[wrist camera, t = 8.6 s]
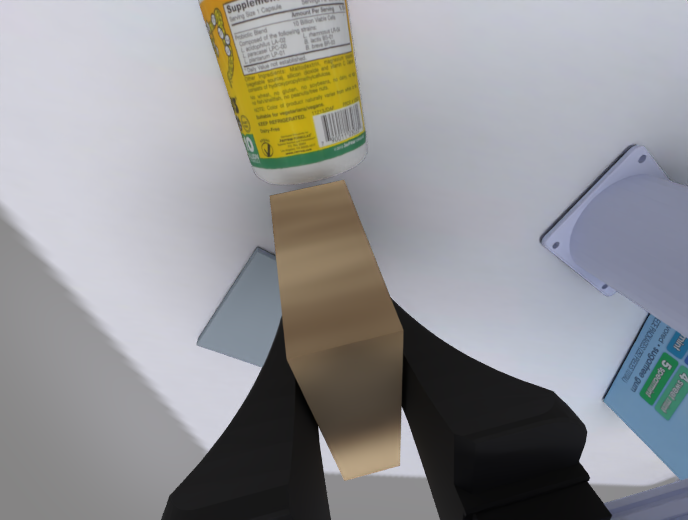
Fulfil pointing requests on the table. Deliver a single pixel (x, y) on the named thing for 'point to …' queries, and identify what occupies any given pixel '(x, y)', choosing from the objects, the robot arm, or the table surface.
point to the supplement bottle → (291, 85)
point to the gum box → (656, 393)
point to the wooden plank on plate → (339, 326)
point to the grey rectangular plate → (247, 313)
